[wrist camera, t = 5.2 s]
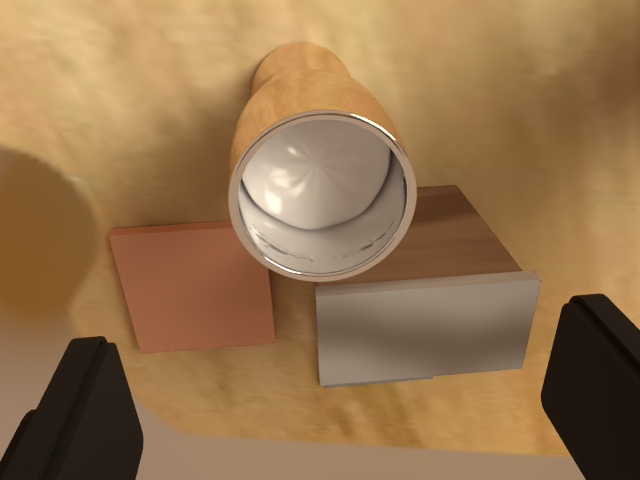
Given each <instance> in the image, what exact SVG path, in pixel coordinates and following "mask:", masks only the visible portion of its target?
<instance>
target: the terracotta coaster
mask: <svg viewBox="0 0 640 480" xmlns="http://www.w3.org/2000/svg"><path fill="white" fill-rule="evenodd" d="M108 237H109V241H110V244H111V248H112V252H113V255H114V259H115V262H116V266H117V270H118V273H119V277H120V281H121V284H122V288H123V292H124V295H125V299H126V302H127V306H128V310H129V313H130V317H131V321H132V324H133V328H134V332H135V335H136V339H137V343H138V346H139V350H140V353H154V352H166V351H178V350H191V349H203V348H215V347H228V346H240V345H253V344H265V343H276V335H275V324H274V314H273V304H272V294H271V284H270V274H269V268H267V267H266V266H264V265H263V264H261V263H260V262H259V261H258V260H256V259H255V258H254V257H253V256H252V255H251V254H250V253H249V252H248V251H247V250H246V248H245V247H244V246H243V244H242V243H241V241H240V240H239V238H238V236H237V234H236V232H235V230H234V228H233V225H232V222H231V221H217V222H202V223H187V224H173V225H158V226H143V227H129V228H114V229H112V230H111V232H110V234H109V235H108Z"/></svg>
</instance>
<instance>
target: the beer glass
mask: <svg viewBox="0 0 640 480" xmlns="http://www.w3.org/2000/svg"><path fill="white" fill-rule="evenodd" d="M416 200H417V184H416V177H415V173H414V169H413V166H412V163H411V161H410V159H409V157H408V155H407V153H406V151H405V149H404V147H403V144H402V142H401V139H400V137H399V134H398V132H397V130H396V128H395V126H394V124H393V122H392V121H391V119H390V117H389V115H388V114H387V112H386V111H385V109H384V108H383V106H382V105H381V104H380V103H379V102H378V100H377V99H376V98H375V97H374V96H373V95H372V93H371V92H370V91H369V90H368V89H366V88H365V87H364V86H363V85H362V84H360V83H359V82H357V81H356V80H354V79H352V78H351V77H350V75H349V73H348V71H347V69H346V67H345V65H344V64H343V63H342V61H341V60H340V59H339V58H338V57H337V56H336V55H335V54H334V53H332V52H331V51H329V50H328V49H326V48H324V47H322V46H319V45H316V44H312V43H292V44H288V45H285V46H283V47H280V48H278V49H277V50H275V51H273V52H272V53H271V54H269V55H268V56H267V57H266V58H265V59H264V60H263V62H262V63H261V64H260V66H259V67H258V69H257V71H256V73H255V76H254V78H253V82H252V87H251V99H250V100H249V101H248V103H247V104H246V106H245V107H244V109H243V111H242V112H241V114H240V117H239V119H238V122H237V125H236V128H235V131H234V134H233V138H232V142H231V149H230V158H229V189H228V208H229V214H230V219H231V222H232V225H233V228H234V230H235V232H236V234H237V236H238V238H239V240H240V241H241V243H242V244H243V246H244V247H245V248H246V250H247V251H248V252H249V253H250V254H251V255H252V256H253V257H254V258H255V259H256V260H258V261H259V262H260V263H261V264H263V265H264V266H266V267H267V268H269V269H271V270H272V271H274V272H276V273H279V274H281V275H283V276H286V277H289V278H293V279H297V280H302V281H310V282H327V281H335V280H341V279H345V278H348V277H352V276H354V275H357V274H360V273H362V272H364V271H366V270H368V269H370V268H371V267H373V266H375V265H376V264H378V263H379V262H380V261H382V260H383V259H384V258H385V257H387V256H388V255H389V254H390V253H391V252H392V251H393V250H394V249H395V248H396V246H397V245H398V244H399V243H400V241H401V240H402V238H403V237H404V235H405V234H406V232H407V230H408V228H409V226H410V224H411V221H412V218H413V215H414V212H415V207H416Z"/></svg>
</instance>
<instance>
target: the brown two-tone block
mask: <svg viewBox="0 0 640 480" xmlns="http://www.w3.org/2000/svg"><path fill="white" fill-rule="evenodd" d="M540 283H541V279H540V277H539V276H538V275H537V274H536V273H535V271H534V270H531V271H522V269H521V268H520V267H519V265H518V264H517V263H516V262H515V260H514V259H513V258H512V256H511V255H510V254H509V253H508V251H507V250H506V249H505V247H504V246H503V245H502V244H501V242H500V241H499V240H498V238H497V237H496V236H495V235H494V233H493V232H492V231H491V229H490V228H489V227H488V226H487V224H486V223H485V222H484V220H483V219H482V218H481V217H480V215H479V214H478V213H477V211H476V210H475V209H474V208H473V206H472V205H471V204H470V202H469V201H468V200H467V199H466V197H465V196H464V195H463V193H462V192H461V191H460V190H459V188H458V187H457V186H456V185H452V186H437V187H422V188H417V200H416V207H415V212H414V215H413V218H412V221H411V224H410V226H409V228H408V230H407V232H406V234H405V235H404V237H403V238H402V240H401V241H400V243H399V244H398V245H397V246H396V248H395V249H394V250H393V251H392V252H391V253H390V254H389V255H388V256H387V257H385V258H384V259H383V260H382V261H380V262H379V263H378V264H376V265H375V266H373V267H371V268H370V269H368V270H366V271H364V272H362V273H360V274H357V275H354V276H352V277H348V278H345V279H341V280H335V281H327V282H314V290H315V305H316V325H317V346H318V366H319V380H320V386H322V385H334V384H346V383H357V382H369V381H381V380H393V379H404V378H416V377H428V376H439V375H451V374H463V373H474V372H486V371H498V370H509V369H521V368H522V366H523V362H524V357H525V353H526V348H527V343H528V339H529V334H530V329H531V325H532V320H533V315H534V311H535V306H536V302H537V297H538V292H539V288H540Z"/></svg>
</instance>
